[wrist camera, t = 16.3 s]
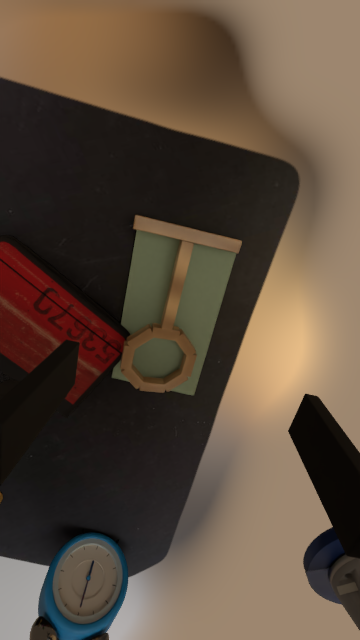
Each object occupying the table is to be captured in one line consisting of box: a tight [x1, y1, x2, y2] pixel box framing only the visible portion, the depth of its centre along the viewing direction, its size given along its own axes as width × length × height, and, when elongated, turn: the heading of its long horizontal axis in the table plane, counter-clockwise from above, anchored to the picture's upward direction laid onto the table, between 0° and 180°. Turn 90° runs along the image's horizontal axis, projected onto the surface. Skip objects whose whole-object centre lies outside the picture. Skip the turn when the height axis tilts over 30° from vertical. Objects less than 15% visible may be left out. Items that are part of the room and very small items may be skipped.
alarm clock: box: [30, 529, 128, 640], centre depth 44 cm, size 13×6×15 cm, turn 69°
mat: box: [112, 230, 236, 396], centre depth 35 cm, size 22×12×1 cm, turn 167°
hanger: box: [120, 214, 242, 393], centre depth 33 cm, size 21×12×1 cm, turn 166°
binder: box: [0, 235, 130, 418], centre depth 36 cm, size 16×2×21 cm
